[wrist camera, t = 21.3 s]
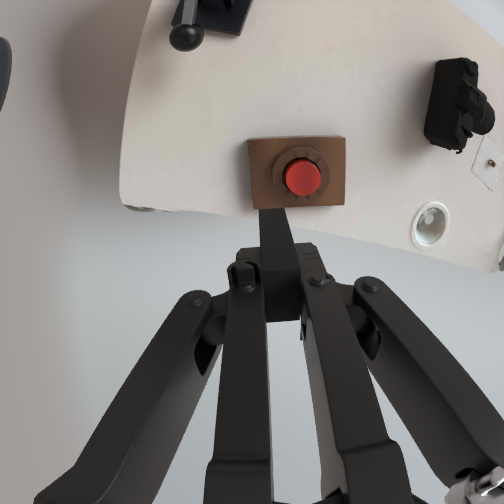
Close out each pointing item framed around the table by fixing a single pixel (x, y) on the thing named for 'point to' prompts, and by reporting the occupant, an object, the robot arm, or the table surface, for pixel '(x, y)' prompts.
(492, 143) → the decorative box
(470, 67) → the film camera
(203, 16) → the black lever stand
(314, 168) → the button
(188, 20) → the switch lever
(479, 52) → the table surface
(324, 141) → the brown button base
